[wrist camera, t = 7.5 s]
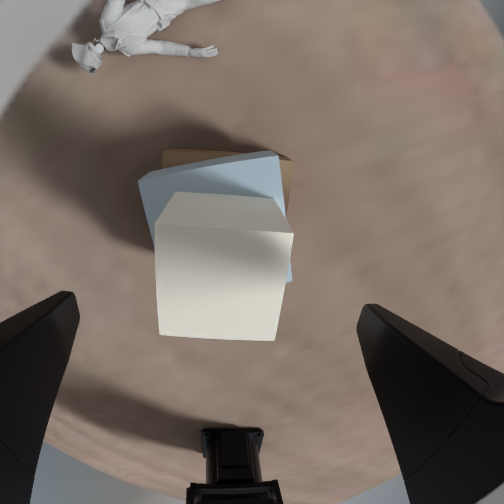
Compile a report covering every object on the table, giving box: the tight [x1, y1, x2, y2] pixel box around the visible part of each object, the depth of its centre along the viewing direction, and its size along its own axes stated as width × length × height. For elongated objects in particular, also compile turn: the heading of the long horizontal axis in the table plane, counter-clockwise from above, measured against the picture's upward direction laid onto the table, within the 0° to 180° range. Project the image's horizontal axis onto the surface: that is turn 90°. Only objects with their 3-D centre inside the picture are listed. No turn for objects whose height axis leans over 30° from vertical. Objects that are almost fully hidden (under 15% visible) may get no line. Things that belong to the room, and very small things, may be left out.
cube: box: [154, 192, 294, 341], centre depth 13 cm, size 4×4×4 cm
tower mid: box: [138, 150, 292, 282], centre depth 16 cm, size 6×6×2 cm
